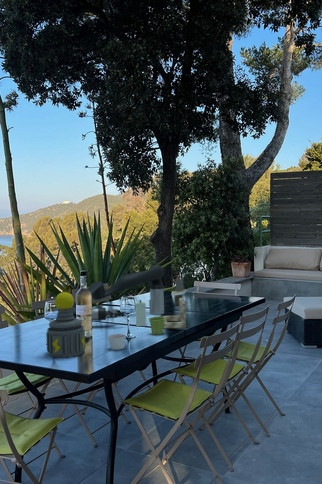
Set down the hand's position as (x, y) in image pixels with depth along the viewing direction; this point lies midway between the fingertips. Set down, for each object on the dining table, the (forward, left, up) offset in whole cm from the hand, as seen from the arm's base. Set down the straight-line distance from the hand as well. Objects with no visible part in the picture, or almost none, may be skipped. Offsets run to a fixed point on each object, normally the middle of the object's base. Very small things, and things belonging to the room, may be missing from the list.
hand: (124, 312), depth 301 cm
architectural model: (-17, +80, -9) cm, 82 cm away
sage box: (+8, +6, -8) cm, 13 cm away
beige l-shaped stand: (+23, +19, -8) cm, 31 cm away
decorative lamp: (+19, -63, -8) cm, 66 cm away
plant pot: (+31, -7, -8) cm, 32 cm away
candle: (+34, -43, -8) cm, 55 cm away
